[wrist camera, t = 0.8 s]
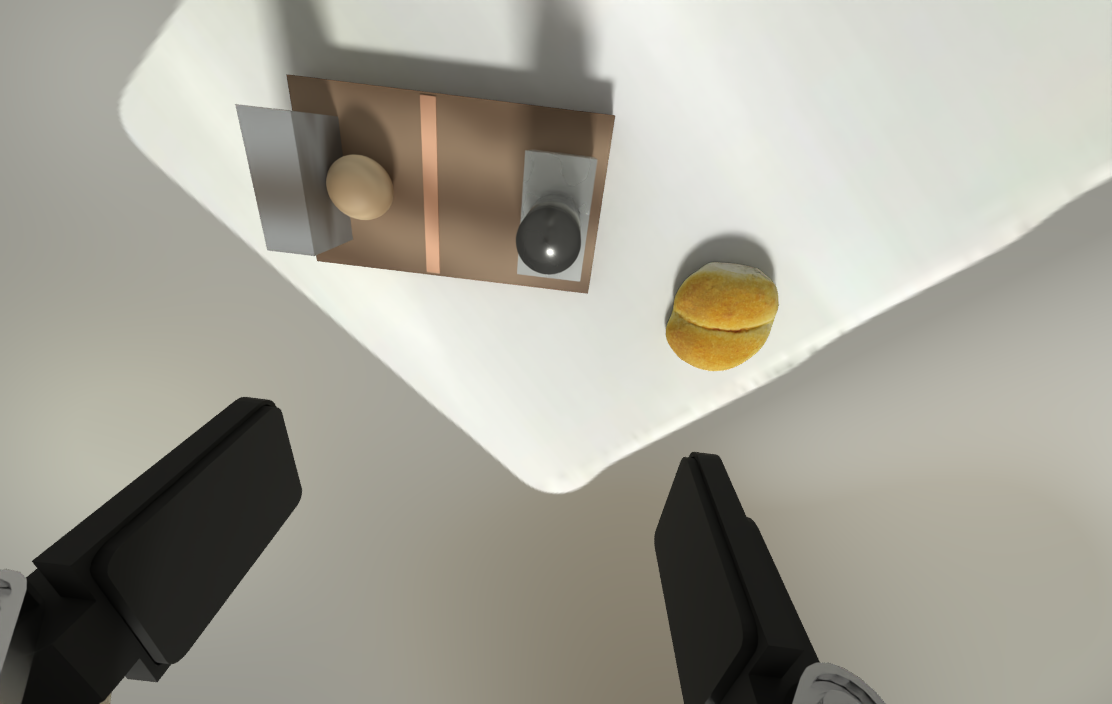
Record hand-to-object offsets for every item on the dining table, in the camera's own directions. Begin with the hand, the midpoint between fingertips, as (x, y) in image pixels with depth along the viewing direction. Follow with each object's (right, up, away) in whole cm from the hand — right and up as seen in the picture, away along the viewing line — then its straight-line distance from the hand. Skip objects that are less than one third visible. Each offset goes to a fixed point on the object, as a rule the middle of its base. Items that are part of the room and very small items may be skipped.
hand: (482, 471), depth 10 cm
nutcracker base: (-5, +15, +21) cm, 26 cm away
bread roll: (+15, +6, +24) cm, 29 cm away
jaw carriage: (+2, +13, +18) cm, 23 cm away
